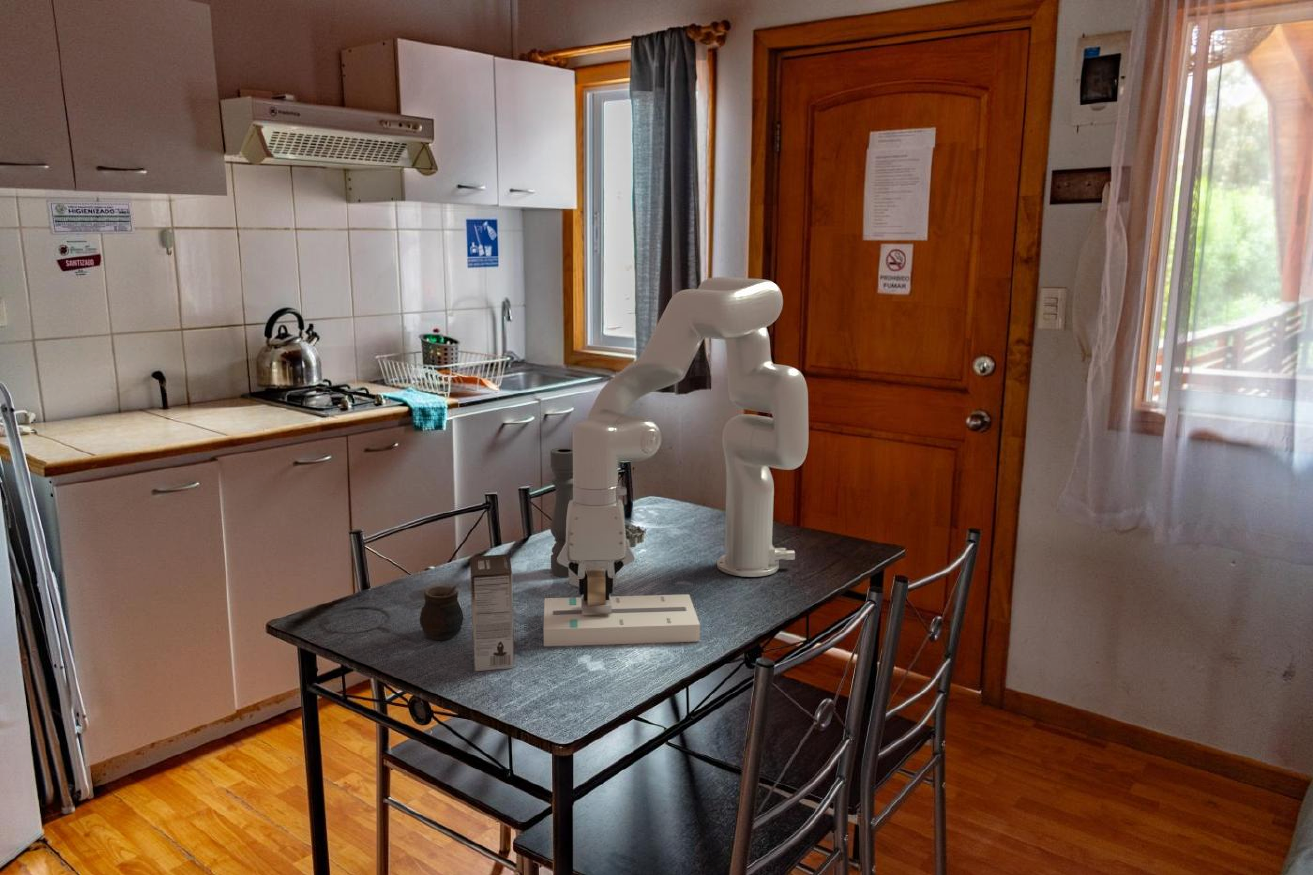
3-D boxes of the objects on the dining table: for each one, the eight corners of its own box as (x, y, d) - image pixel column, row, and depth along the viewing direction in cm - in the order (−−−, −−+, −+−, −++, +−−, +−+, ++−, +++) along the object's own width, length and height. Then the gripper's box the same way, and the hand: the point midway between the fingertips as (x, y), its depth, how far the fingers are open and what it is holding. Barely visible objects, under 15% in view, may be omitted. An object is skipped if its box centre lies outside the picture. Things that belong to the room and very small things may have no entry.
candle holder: (583, 567, 203) (583, 447, 198) (578, 577, 197) (577, 454, 192) (554, 566, 203) (552, 446, 198) (547, 576, 197) (545, 453, 192)
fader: (609, 603, 174) (609, 567, 173) (611, 614, 169) (611, 577, 168) (581, 604, 174) (581, 568, 172) (582, 614, 169) (581, 578, 168)
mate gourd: (440, 623, 174) (439, 569, 172) (474, 633, 170) (473, 577, 168) (411, 637, 168) (409, 581, 166) (445, 647, 164) (444, 590, 162)
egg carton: (623, 554, 212) (623, 536, 211) (594, 548, 216) (594, 530, 215) (649, 541, 221) (649, 523, 220) (621, 535, 225) (621, 518, 224)
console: (688, 610, 181) (689, 593, 180) (699, 641, 167) (700, 624, 167) (544, 614, 178) (544, 597, 178) (543, 646, 165) (543, 628, 164)
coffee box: (472, 648, 164) (469, 555, 160) (511, 645, 165) (509, 552, 162) (474, 672, 155) (471, 574, 152) (515, 669, 156) (513, 571, 153)
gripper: (642, 487, 172) (641, 588, 176) (546, 489, 170) (548, 591, 174) (646, 499, 165) (645, 604, 168) (546, 501, 163) (548, 607, 167)
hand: (596, 596), depth 171 cm, fingers closed on fader, 3 cm apart
